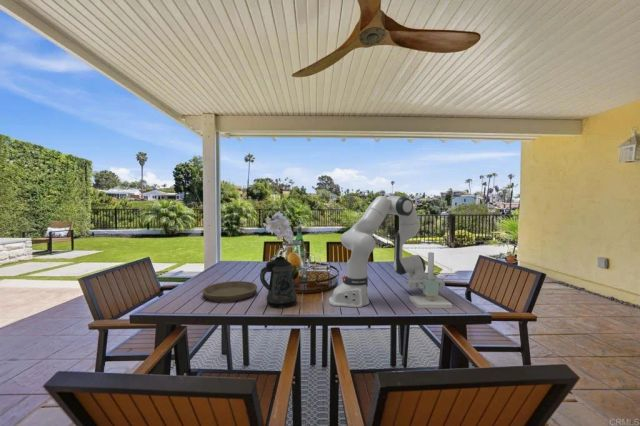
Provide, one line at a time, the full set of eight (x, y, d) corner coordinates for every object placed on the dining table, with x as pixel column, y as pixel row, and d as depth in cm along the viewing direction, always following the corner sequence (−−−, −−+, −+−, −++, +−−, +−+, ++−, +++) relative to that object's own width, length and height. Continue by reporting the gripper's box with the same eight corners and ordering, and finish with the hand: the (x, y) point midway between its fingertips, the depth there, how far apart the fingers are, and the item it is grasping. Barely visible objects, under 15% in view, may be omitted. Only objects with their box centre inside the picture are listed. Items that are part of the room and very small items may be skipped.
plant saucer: (190, 301, 165) (190, 292, 165) (221, 286, 195) (221, 279, 195) (241, 306, 158) (241, 297, 157) (265, 289, 188) (265, 282, 188)
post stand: (418, 308, 156) (419, 255, 155) (409, 299, 170) (410, 250, 169) (452, 308, 156) (453, 255, 155) (440, 299, 170) (441, 250, 169)
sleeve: (426, 295, 160) (427, 280, 159) (422, 292, 166) (422, 278, 166) (438, 295, 160) (438, 280, 160) (433, 292, 166) (433, 278, 166)
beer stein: (302, 301, 165) (302, 256, 164) (280, 312, 148) (281, 262, 148) (279, 296, 174) (279, 253, 173) (256, 306, 157) (256, 259, 156)
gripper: (404, 275, 175) (412, 281, 162) (438, 275, 176) (449, 281, 162) (404, 285, 176) (411, 292, 162) (438, 285, 176) (449, 292, 162)
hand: (431, 287), depth 162 cm, fingers closed on sleeve, 6 cm apart
